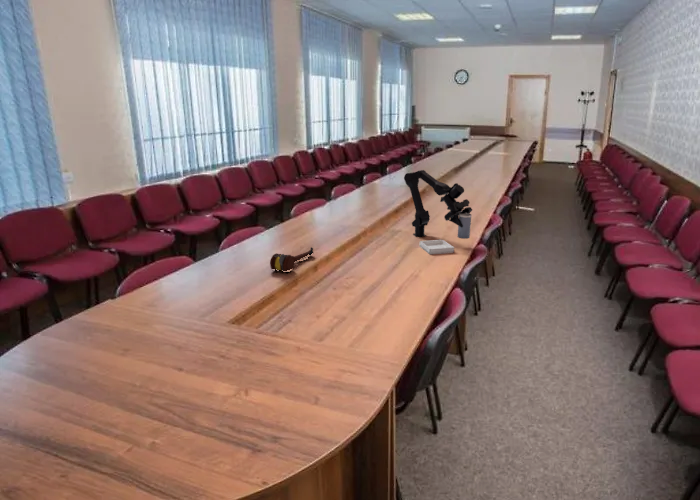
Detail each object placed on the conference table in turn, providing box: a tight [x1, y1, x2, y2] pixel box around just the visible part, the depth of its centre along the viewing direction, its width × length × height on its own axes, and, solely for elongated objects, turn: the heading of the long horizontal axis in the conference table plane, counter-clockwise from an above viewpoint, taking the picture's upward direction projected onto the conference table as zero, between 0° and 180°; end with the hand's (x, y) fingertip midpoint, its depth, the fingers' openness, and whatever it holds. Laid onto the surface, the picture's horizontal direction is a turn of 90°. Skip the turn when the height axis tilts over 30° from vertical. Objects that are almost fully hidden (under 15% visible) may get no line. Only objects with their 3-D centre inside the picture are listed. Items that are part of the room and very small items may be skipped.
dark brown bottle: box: [269, 246, 314, 272], centre depth 243 cm, size 10×34×10 cm
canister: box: [457, 213, 472, 240], centre depth 267 cm, size 7×7×13 cm
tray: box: [418, 239, 455, 255], centre depth 267 cm, size 16×14×3 cm
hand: (466, 226), depth 266 cm, fingers closed on canister, 7 cm apart
